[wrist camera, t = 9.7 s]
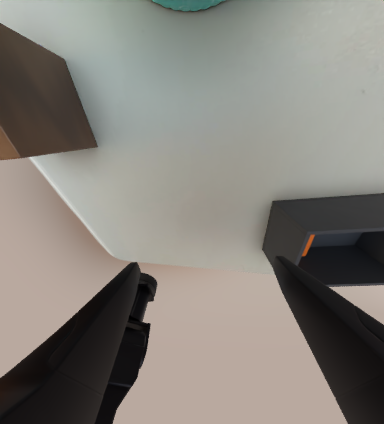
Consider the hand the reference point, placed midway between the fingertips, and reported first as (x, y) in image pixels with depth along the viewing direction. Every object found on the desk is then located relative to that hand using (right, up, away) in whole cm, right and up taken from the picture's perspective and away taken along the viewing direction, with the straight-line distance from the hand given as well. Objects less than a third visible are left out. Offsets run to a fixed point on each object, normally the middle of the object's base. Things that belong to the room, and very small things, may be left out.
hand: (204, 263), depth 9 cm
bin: (+20, +1, +14) cm, 24 cm away
